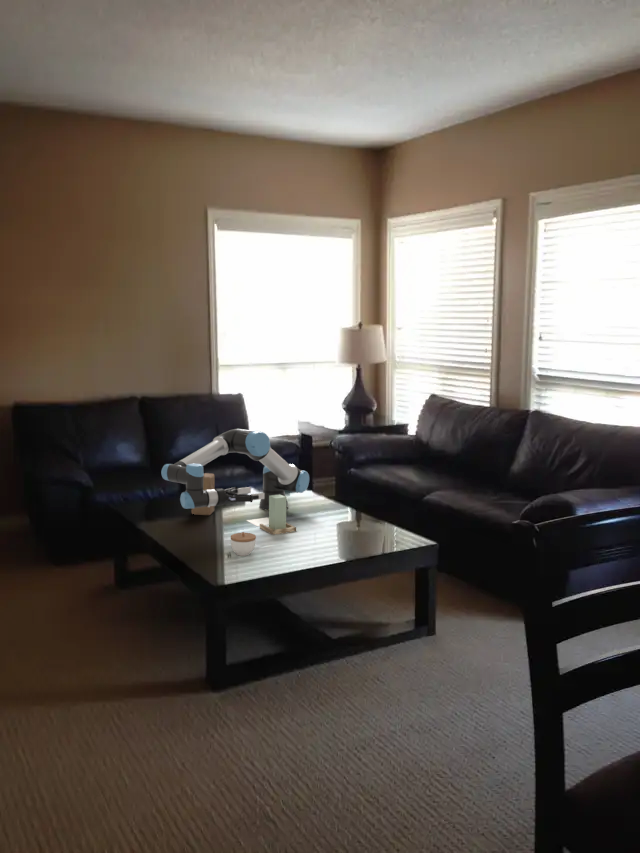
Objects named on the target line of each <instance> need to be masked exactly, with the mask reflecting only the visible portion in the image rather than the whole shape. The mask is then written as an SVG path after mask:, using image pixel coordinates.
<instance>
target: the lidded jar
mask: <svg viewBox="0 0 640 853" xmlns="http://www.w3.org/2000/svg"><path fill="white" fill-rule="evenodd" d="M256 541H257V535H255V534H254V533H250V532H246V531H242V532H237V533H233V534H231V535H230V545H231V549H232V551H233V552H234V553H235V554H236V555H237V556H240V557H244V556H245V557H246V556H250V555H251V553H252V552H253V551H254V550H255V547H256ZM249 554H250V555H249Z"/></svg>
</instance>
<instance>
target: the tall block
mask: <svg viewBox="0 0 640 853" xmlns="http://www.w3.org/2000/svg"><path fill="white" fill-rule="evenodd" d="M285 496H286V495H285ZM285 496H283V495H280V494H279V495H271V496H269V510H268V518H269V525H268V527H270V528H272V529H274V530H277V529H283V528H286V523H287V508H286V499H287V496H286V497H285Z"/></svg>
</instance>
